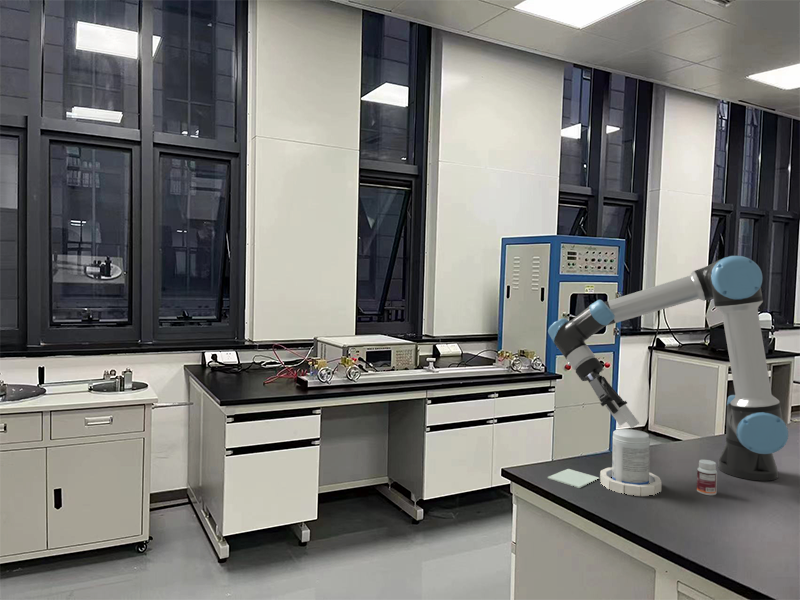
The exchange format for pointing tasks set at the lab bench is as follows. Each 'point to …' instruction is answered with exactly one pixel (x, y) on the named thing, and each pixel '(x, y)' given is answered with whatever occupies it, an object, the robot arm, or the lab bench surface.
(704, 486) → the pill bottle
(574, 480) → the rubber mat
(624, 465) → the supplement tub
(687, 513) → the lab bench surface
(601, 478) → the ring dish
